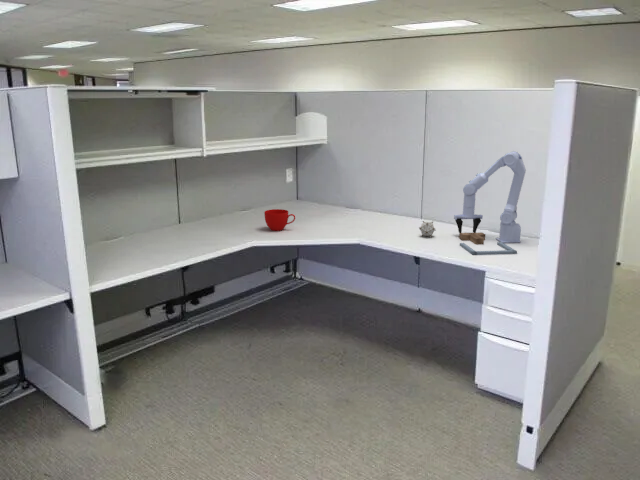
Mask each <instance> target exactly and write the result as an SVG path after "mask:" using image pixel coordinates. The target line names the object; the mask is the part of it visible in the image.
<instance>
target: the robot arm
mask: <svg viewBox="0 0 640 480" xmlns="http://www.w3.org/2000/svg"><path fill="white" fill-rule="evenodd" d="M503 167H508V168H510V170H511V171H512V173H514V174H513V177H512V180H511V185H510V189H509V192H508V197H507V200H506V204H505V206H504V209H503V212H502V213H501V214H500V218H499V219H500V224H499V226H500V228H499V237H496V238H495V239H496V240H497V241H498V242H502V243H504V244H510V243H513V244H514V243H521V231H522V227H521V225H520V223H516V219H517V217H518V212H517V210H518V207H517V205H518V202H519V199H520V194H521V191H522V187H523V183H524V179H525V175H526V171H527V170H526V167H525V164H524V160H523V156H521V154H520V153H519V152H518V151H514V150H513V151H510V152H507V153H505V154H504V155H503V156H501V157H500V158H499V159H497V160H496V161H495V162H494V163H493V164H492V165H491V166H489V167H488V169H487V170H486V171H484V172H480V173H477V174H475V177H473V179H471V180H469V181H468V182H469V183H466V184H465V185H464V187H463V188H462V191H463V204H462V205H463V207H462V214H456V215H455V214H454V215H453V219H454V220H455V223H456V225H457V230H458V234H459V233H463V232H462V231H463V223H464V222H463V220H472V224H473V225H472V233H477V229H478V228H479V225H480V224H481V222H482V220H483V214H475V210H476V208H475V206H476V193H477V192H478V190H480V189H481V188H482V187H484V186H485V184H487V183H488V182H489V178H490V177H492V175H493V174H495V172H497V171H498V170H499V169H500V168H503Z"/></svg>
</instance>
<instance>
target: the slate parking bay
mask: <svg viewBox="0 0 640 480" xmlns="http://www.w3.org/2000/svg"><path fill="white" fill-rule="evenodd" d="M496 245H497V246H499V247H501V248H502V249H504V250H475V249H473V248H472V247H470V245H467V244H466V243H464V242H459V246H460V247H461V248H462V249H464V250H465V251H467V252H468V253H469V254H471V255H472V256H482V255H483V256H487V255H490V256H491V255H513V254H514V255H517V254H518V250H516V249H515V248H513V247H511V246H509V245H507V243H502V242H500V241H497V243H496Z"/></svg>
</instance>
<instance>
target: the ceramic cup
mask: <svg viewBox="0 0 640 480" xmlns="http://www.w3.org/2000/svg"><path fill="white" fill-rule="evenodd" d="M263 213H264V220H265V223H266V225H267V227H268V228H269V229H270V231H274V232H279V231H283V230H284V229H285V228H286V226H287V225H289V224H292V223H294V221H295V220H296V214H293V213H290V214H289V210H287V209H282V208H278V209H276V208H274V209H268V210H267V209H266V210H264V212H263ZM291 216H293V219H292V220H291V221H289V217H291ZM288 221H289V222H288Z"/></svg>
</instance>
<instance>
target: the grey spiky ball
mask: <svg viewBox="0 0 640 480" xmlns="http://www.w3.org/2000/svg"><path fill="white" fill-rule="evenodd" d="M433 223H434V221H431V222H428V221H424V220H422V224H421V226H419V227H418V228H419V230H420V232H421V237H423V236H424V237H425V236H426V237H431V238H433V235H434V232H435V231H437V230H436V228H435V227H434V224H433Z"/></svg>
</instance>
